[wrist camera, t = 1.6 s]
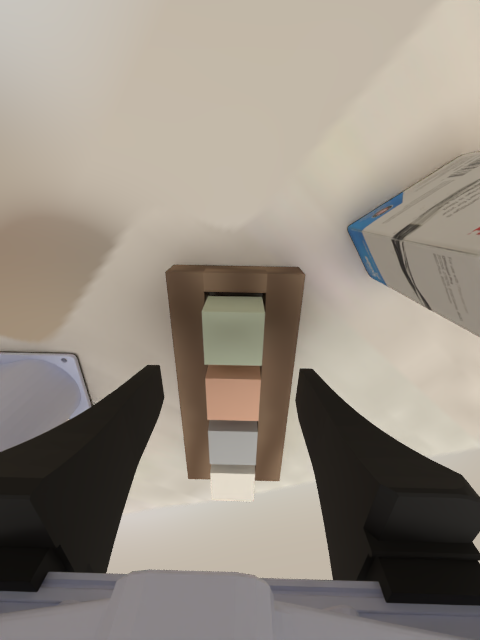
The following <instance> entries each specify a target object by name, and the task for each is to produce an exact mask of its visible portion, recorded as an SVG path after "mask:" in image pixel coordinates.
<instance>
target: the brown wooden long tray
mask: <svg viewBox="0 0 480 640" xmlns="http://www.w3.org/2000/svg"><path fill="white" fill-rule="evenodd" d="M165 273H166V282H167V291H168V300H169V309H170V318H171V327H172V336H173V345H174V354H175V363H176V372H177V381H178V390H179V399H180V408H181V417H182V426H183V435H184V444H185V453H186V462H187V471H188V479H211V478H210V471H211V464H210V459H209V440H208V428H209V422H210V420H207V402H206V384H205V377H206V373H207V368H208V365H204V346H203V327H202V310H203V307H204V305H205V302H206V300H207V297H208V296H209V292H251V293H263V304H264V310H265V323H264V339H263V355H262V366H260V375H261V388H260V404H259V420H258V421H257V428H258V436H257V452H256V465H255V480H257V481H279V479H280V471H281V464H282V456H283V448H284V440H285V432H286V424H287V416H288V408H289V400H290V392H291V384H292V376H293V368H294V361H295V353H296V345H297V337H298V329H299V321H300V313H301V305H302V297H303V289H304V281H305V274H304V273H303V272H302V270H301V269H300V268H299V267H261V266H207V265H173V266H172V267H171V268H170V269H169V270H167V271H166V272H165Z"/></svg>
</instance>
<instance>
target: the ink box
mask: <svg viewBox="0 0 480 640" xmlns="http://www.w3.org/2000/svg"><path fill="white" fill-rule="evenodd" d="M348 232H349V234H350V236H351V238H352V241H353V243H354V245H355V247H356V249H357V251H358V253H359V255H360V257H361V259H362V262H363V264H364V266H365V268H366V270H367V271H368V273H369V275H370V276H371V277H372V278H373V279H375V280H377V281H379V282H381V283H383V284H384V285H386V286H388V287H390V288H392V289H393V290H395V291H397V292H399V293H401V294H402V295H404V296H406V297H408V298H410V299H411V300H413V301H415V302H417V303H419V304H421V305H422V306H424V307H426V308H428V309H429V310H432V311H433V312H435V313H437V314H439V315H440V316H442V317H444V318H446V319H448V320H450V321H451V322H453V323H455V324H457V325H459V326H460V327H462V328H464V329H466V330H468V331H469V332H471V333H473V334H475V335H477V336H478V337H480V151H478V152H473V153H469V154H465V155H461V156H459V157H458V158H456V159H454V160H453V161H451V162H450V163H448V164H446V165H445V166H443V167H442V168H440V169H439V170H437V171H435V172H434V173H432V174H430V175H429V176H427V177H426V178H424V179H423V180H421V181H419V182H418V183H416V184H415V185H413V186H411V187H410V188H408V189H407V190H405V191H404V192H402V193H400V194H399V195H397V196H396V197H394V198H393V199H391V200H389V201H388V202H386V203H385V204H383V205H381V206H380V207H378V208H376V209H375V210H373V211H372V212H370V213H369V214H367V215H366V216H364V217H362V218H361V219H359V220H358V221H356V222H354V223H353V224H351V225H350V226H349V227H348Z"/></svg>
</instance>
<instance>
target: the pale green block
mask: <svg viewBox="0 0 480 640" xmlns="http://www.w3.org/2000/svg"><path fill="white" fill-rule="evenodd" d="M264 323H265V310H264V304H263V299H262V297H235V296H208V297H207V300H206V302H205V305H204V307H203V310H202V327H203V346H204V365H248V366H262V355H263V339H264Z"/></svg>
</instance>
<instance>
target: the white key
mask: <svg viewBox="0 0 480 640" xmlns="http://www.w3.org/2000/svg"><path fill="white" fill-rule="evenodd" d="M210 478H211V496H212V500H219V501H254V485H255V465H226V464H211V471H210Z"/></svg>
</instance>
